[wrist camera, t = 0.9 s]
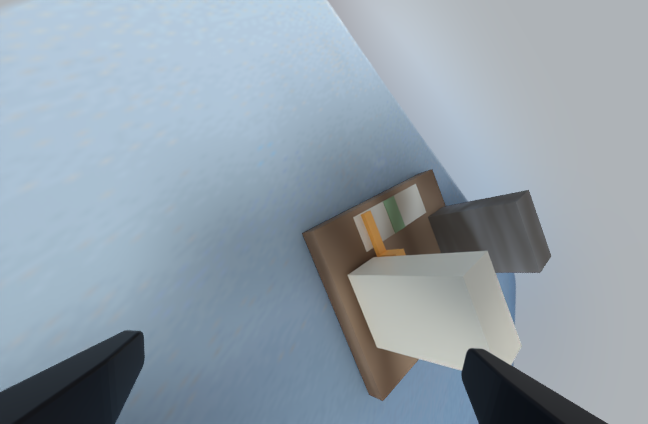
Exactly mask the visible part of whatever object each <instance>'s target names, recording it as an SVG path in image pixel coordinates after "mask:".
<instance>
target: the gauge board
mask: <svg viewBox="0 0 648 424" xmlns="http://www.w3.org/2000/svg"><path fill="white" fill-rule="evenodd" d="M370 210H371V213H372V215H373V218H374V221H375V223H376V226H377V228H378V231H379V233H380V236H381V238H382V241H383V244H384V246H385V249H386V250H393V249H404V251H405V254H406V255H422V254H439V253H457V252H474V251H488V254H489V256H490V259H491V262H492V265H493V268H494V270H495V273H540V272H541V271H542V269H543V268H544V266H545V265H546V263H547V262H548V260H549V259H550V257H551V254H550V251H549V248H548V246H547V242H546V239H545V236H544V234H543V230H542V228H541V225H540V222H539V219H538V216H537V213H536V210H535V207H534V204H533V201H532V198H531V195H530V192H529V190H527V191H521V192H516V193H511V194H506V195H501V196H496V197H491V198H485V199H480V200H475V201H470V202H465V203H460V204H454V205H449V206H445V203H444V200H443V198H442V195H441V192H440V189H439V187H438V184H437V181H436V179H435V176H434V173H433V170H429V171H425V172H422V173H419V174H417V175H415V176H414V177H412V178H410V179H408V180H406V181H404V182H402V183H400V184H398V185H396V186H394V187H392V188H390V189H388V190H386V191H384V192H382V193H380V194H378V195H376V196H374V197H372V198H370V199H368V200H366V201H365V202H363V203H361V204H359V205H357V206H355V207H353V208H351V209H349V210H347V211H345V212H343V213H341V214H339V215H337V216H335V217H333V218H331V219H329V220H327V221H325V222H323V223H321V224H319V225H317V226H316V227H314V228H312V229H310V230H308V231H306V232H304V233H302V234H303V237H304V239H305V241H306V244H307V246H308V249H309V251H310V253H311V256H312V258H313V261H314V263H315V265H316V268H317V270H318V273H319V275H320V277H321V280H322V282H323V285H324V287H325V289H326V292H327V294H328V297H329V299H330V301H331V304H332V306H333V309H334V311H335V314H336V316H337V318H338V321H339V323H340V326H341V328H342V330H343V333H344V335H345V338H346V340H347V342H348V345H349V347H350V350H351V352H352V354H353V357H354V359H355V362H356V364H357V366H358V369H359V371H360V374H361V376H362V378H363V381H364V383H365V386H366V388H367V390H368V393H369V395H371V396H373V397H375V398H378V399H380V400H382V401H383V400H384V399H385V398H386V397H387V396H388V395H389V393H390V392H391V391H392V390H393V389H394V388H395V386H396V385H397V384H398V383H399V382H400V381H401V379H402V378H403V377H404V376H405V375H406V374H407V372H408V371H409V370H410V369H411V368H412V367H413V365H414V364H415V363H416V362H417V361H418V360H419V359H417V358H414V357H410V356H406V355H403V354H399V353H395V352H392V351H388V350H385V349H381V348H377V346H376V344H375V341H374V339H373V336H372V334H371V332H370V329H369V327H368V324H367V322H366V319H365V317H364V314H363V312H362V309H361V307H360V305H359V302H358V300H357V297H356V295H355V292H354V290H353V287H352V285H351V282H350V280H349V277H348V274H350V273H351V272H353V271H354V270H356V269H357V268H359V267H360V266H361V265H363V264H364V263H366V262H367V261H369V260H370V259H372V258H373V257H377V255H376V253H375V250H374V248H373V245H372V242H371V240H370V237H369V235H368V232H367V230H366V227H365V225H364V222H363V220H362V217H361V214H363V213H365V212H366V211H370Z"/></svg>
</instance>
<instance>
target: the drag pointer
mask: <svg viewBox="0 0 648 424" xmlns="http://www.w3.org/2000/svg"><path fill="white" fill-rule="evenodd" d="M361 217H362V220H363V222H364V225H365V227H366V230H367V232H368V235H369V237H370V240H371V242H372V245H373V248H374V250H375V253H376V255H377V257H386V256H404V255H406V254H405V251H404V249H393V250H386V249H385V246H384V244H383V241H382V238H381V236H380V233H379V231H378V228H377V226H376V223H375V221H374V218H373V215H372V213H371V210H370V211H366V212H365V213H363V214H361Z"/></svg>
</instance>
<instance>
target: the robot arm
mask: <svg viewBox="0 0 648 424" xmlns="http://www.w3.org/2000/svg"><path fill="white" fill-rule="evenodd" d="M144 358H145V355H144V336H143V333H142V332H141V331H132V330H126V331H123V332H121V333H119V334H117V335H115V336H113V337H111V338H109V339H107V340H105V341H103V342H101V343H99V344H97V345H95V346H93V347H91V348H89V349H86V350H84V351H82V352H80V353H78V354H76V355H74V356H72V357H70V358H68V359H66V360H64V361H62V362H60V363H58V364H56V365H54V366H52V367H50V368H48V369H46V370H44V371H42V372H40V373H38V374H36V375H34V376H32V377H30V378H28V379H26V380H24V381H22V382H20V383H18V384H16V385H14V386H12V387H10V388H8V389H6V390H4V391H2V392H0V424H115V423H116V421H117V419H118V417H119V415H120V413H121V410H122V408H123V406H124V404H125V402H126V400H127V398H128V396H129V394H130V392H131V390H132V388H133V386H134V384H135V381H136V379H137V377H138V375H139V373H140V371H141V369H142V367H143V364H144ZM462 381H463V384H464V386H465V389H466V391H467V394H468V397H469V399H470V402H471V404H472V407H473V409H474V412H475V415H476V417H477V420H478V422H479V424H608V423H606V422H604V421H603V420H601V419H599V418H598V417H596V416H594V415H592V414H591V413H589V412H588V411H586V410H584V409H583V408H581V407H579V406H578V405H576V404H574V403H573V402H571V401H569V400H568V399H566V398H564V397H563V396H561V395H559V394H558V393H556V392H554V391H553V390H551V389H549V388H548V387H546V386H544V385H543V384H541V383H539V382H538V381H536V380H534V379H533V378H531V377H529V376H528V375H526V374H525V373H523V372H521V371H519V370H518V369H516V368H515V367H513V366H511V365H510V364H508V363H506V362H505V361H503V360H501V359H500V358H498V357H496V356H495V355H493V354H491V353H490V352H488V351H486V350H485V349H480V348H470V349H468V350H467V352H466V356H465V360H464V364H463V368H462Z"/></svg>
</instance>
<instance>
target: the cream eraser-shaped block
mask: <svg viewBox="0 0 648 424" xmlns="http://www.w3.org/2000/svg"><path fill="white" fill-rule="evenodd" d="M348 277H349V280H350V282H351V285H352V287H353V290H354V292H355V295H356V297H357V300H358V302H359V305H360V307H361V309H362V312H363V314H364V317H365V319H366V322H367V324H368V327H369V329H370V332H371V334H372V336H373V339H374V341H375V344H376V346H377V348H381V349H385V350H388V351H392V352H395V353H399V354H403V355H406V356H410V357H414V358H417V359H421V360H425V361H428V362H432V363H436V364H439V365H443V366H447V367H450V368H454V369H457V370H461V371H462V368H463V364H464V360H465V356H466V352H467V350H468V349H470V348H480V349H485V350H486V351H488V352H490V353H491V354H493V355H495V356H496V357H498V358H500V359H501V360H503V361H505V362H506V363H508V364H510V365H511V364H512V363H513V361H514V359H515V357H516V355H517V354H518V352H519V350H520V348H521V347H522V346H521V343H520V340H519V337H518V334H517V332H516V329H515V326H514V323H513V320H512V318H511V315H510V312H509V309H508V306H507V304H506V301H505V298H504V295H503V293H502V290H501V287H500V284H499V281H498V279H497V276H496V273H495V270H494V268H493V265H492V262H491V259H490V256H489V254H488V251H474V252H457V253H439V254H422V255H404V256H386V257H373V258H372V259H370V260H369V261H367V262H366V263H364V264H363V265H361V266H360V267H359V268H357V269H356V270H354V271H353V272H351V273H350V274H348Z"/></svg>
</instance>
